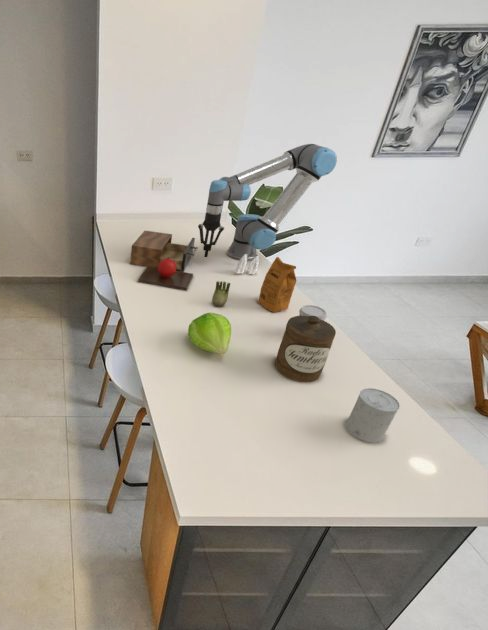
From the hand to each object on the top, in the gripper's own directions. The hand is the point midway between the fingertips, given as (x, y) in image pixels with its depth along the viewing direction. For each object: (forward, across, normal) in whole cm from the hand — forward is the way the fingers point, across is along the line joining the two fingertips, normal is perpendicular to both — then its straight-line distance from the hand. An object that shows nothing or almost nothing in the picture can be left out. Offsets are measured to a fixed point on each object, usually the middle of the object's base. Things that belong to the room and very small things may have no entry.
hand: (205, 256), depth 222 cm
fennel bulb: (+6, -13, +40) cm, 42 cm away
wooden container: (+6, -45, +76) cm, 88 cm away
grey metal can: (+6, -62, +100) cm, 118 cm away
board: (+6, +15, +23) cm, 28 cm away
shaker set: (+6, -21, +1) cm, 22 cm away
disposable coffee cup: (+6, -48, +52) cm, 71 cm away
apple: (+5, +15, +23) cm, 28 cm away
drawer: (+5, +15, 0) cm, 16 cm away
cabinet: (+6, +29, 0) cm, 30 cm away
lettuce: (+6, -14, +75) cm, 76 cm away
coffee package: (+6, -35, +31) cm, 47 cm away
